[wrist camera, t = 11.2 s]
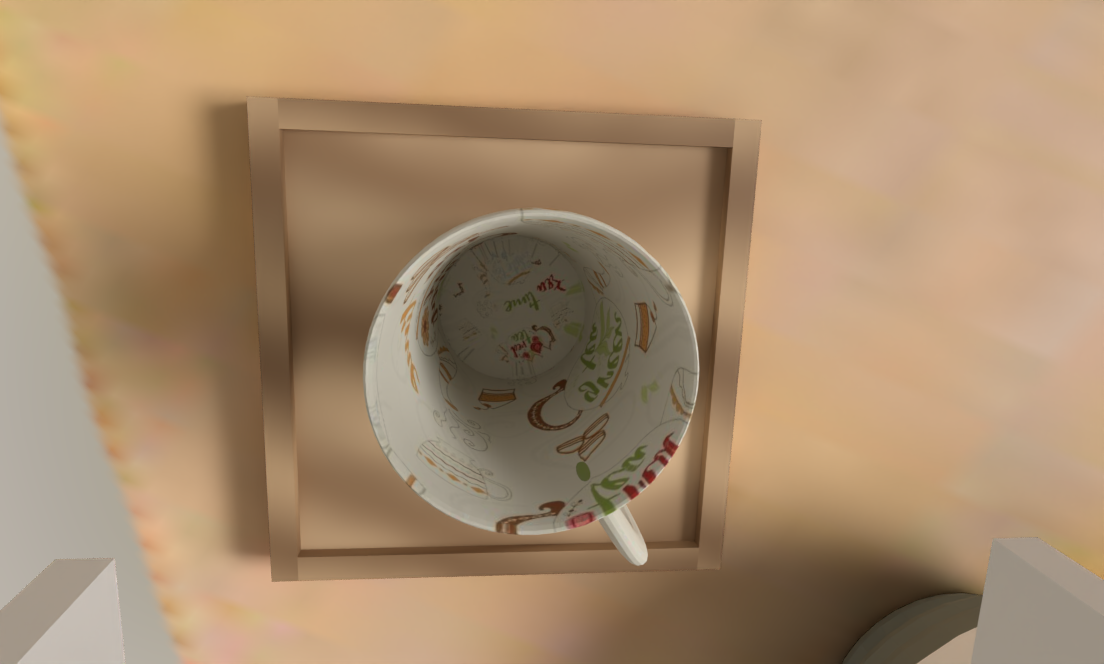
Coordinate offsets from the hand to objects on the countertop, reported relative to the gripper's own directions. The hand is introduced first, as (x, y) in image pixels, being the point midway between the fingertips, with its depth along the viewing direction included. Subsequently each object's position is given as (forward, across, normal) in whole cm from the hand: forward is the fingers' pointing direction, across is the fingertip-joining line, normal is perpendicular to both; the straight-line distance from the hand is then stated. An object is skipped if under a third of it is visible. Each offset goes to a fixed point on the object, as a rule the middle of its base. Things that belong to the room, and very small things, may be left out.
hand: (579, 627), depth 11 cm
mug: (+18, +1, 0) cm, 18 cm away
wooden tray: (+19, 0, 0) cm, 19 cm away
